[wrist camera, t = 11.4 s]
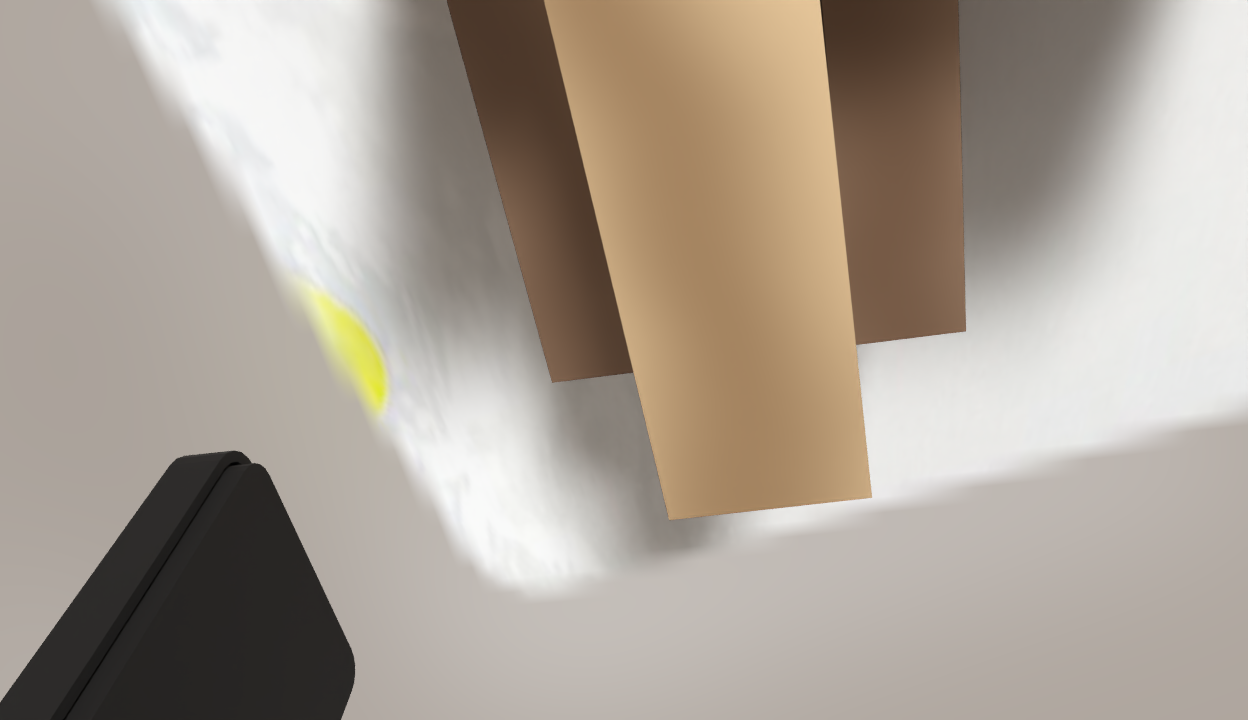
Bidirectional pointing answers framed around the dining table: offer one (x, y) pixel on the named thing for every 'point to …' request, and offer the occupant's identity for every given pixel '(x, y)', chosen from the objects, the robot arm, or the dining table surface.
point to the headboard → (865, 152)
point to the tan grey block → (723, 242)
